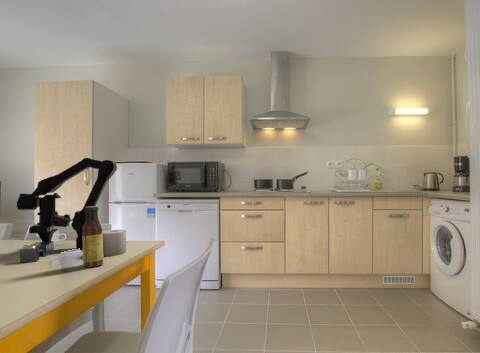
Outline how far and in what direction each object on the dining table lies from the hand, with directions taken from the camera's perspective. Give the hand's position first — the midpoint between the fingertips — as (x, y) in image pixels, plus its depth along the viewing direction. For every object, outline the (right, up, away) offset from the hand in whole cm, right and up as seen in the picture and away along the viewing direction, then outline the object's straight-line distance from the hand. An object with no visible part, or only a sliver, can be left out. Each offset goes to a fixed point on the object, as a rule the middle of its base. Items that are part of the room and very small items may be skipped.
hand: (47, 247), depth 128 cm
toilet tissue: (+29, -1, -7) cm, 30 cm away
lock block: (+2, -1, -7) cm, 8 cm away
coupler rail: (+4, -1, -13) cm, 13 cm away
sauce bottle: (+30, -1, -24) cm, 39 cm away
